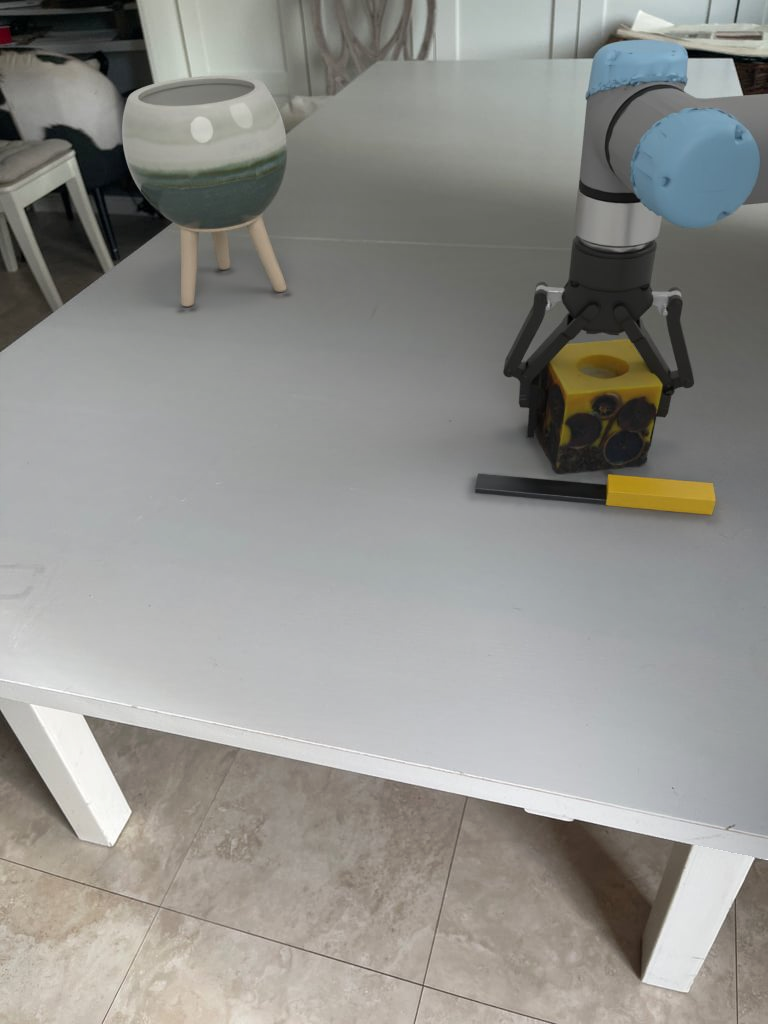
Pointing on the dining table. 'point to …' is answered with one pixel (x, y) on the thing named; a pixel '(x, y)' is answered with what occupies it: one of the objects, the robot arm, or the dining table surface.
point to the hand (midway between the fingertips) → (587, 435)
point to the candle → (596, 407)
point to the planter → (208, 162)
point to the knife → (609, 492)
